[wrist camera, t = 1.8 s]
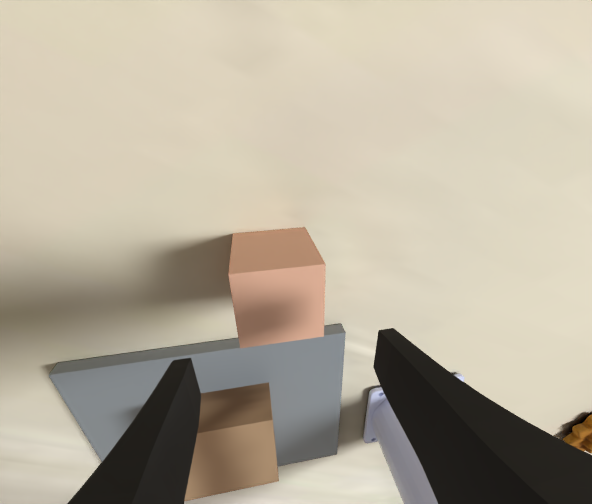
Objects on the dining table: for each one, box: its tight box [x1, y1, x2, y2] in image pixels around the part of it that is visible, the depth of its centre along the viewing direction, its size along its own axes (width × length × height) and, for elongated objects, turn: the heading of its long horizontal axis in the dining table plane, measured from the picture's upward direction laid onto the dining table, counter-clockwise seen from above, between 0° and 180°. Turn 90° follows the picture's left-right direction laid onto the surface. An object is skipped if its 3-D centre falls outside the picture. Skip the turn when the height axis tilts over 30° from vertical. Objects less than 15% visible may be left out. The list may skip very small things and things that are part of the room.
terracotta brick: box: [228, 227, 325, 348], centre depth 16 cm, size 4×4×5 cm
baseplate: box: [49, 324, 345, 466], centre depth 23 cm, size 20×16×1 cm
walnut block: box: [184, 382, 279, 501], centre depth 21 cm, size 8×8×3 cm
